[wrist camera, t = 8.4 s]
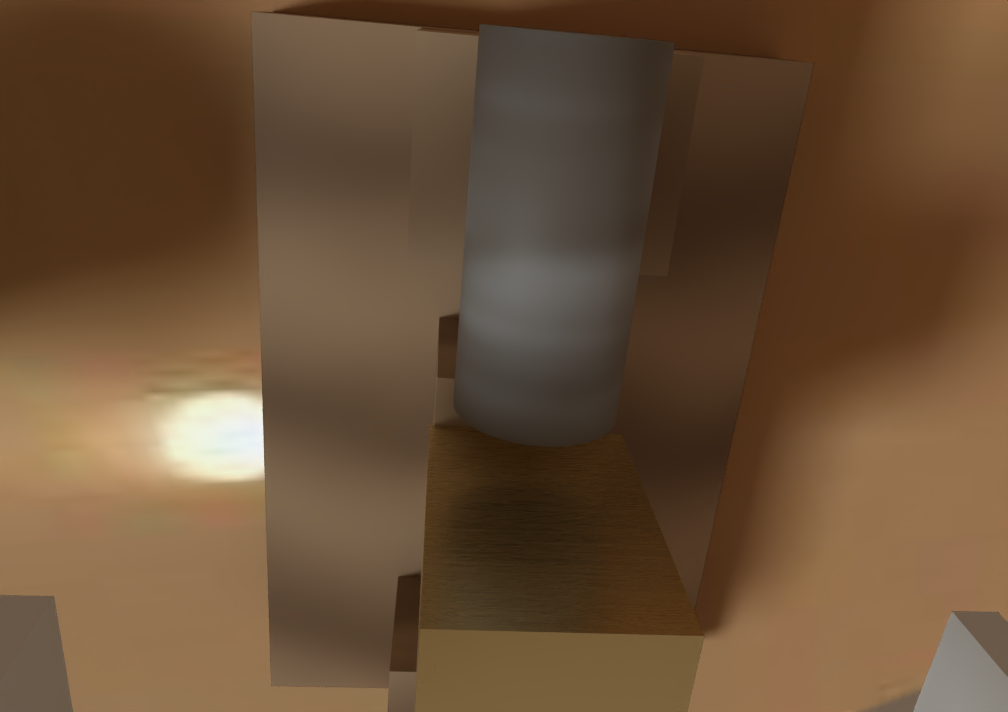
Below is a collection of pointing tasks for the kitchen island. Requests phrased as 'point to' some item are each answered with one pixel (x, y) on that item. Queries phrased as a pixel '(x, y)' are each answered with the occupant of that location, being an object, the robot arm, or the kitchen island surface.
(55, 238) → the kitchen island surface
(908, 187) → the kitchen island surface
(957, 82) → the kitchen island surface
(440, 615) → the wooden block
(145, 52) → the kitchen island surface
